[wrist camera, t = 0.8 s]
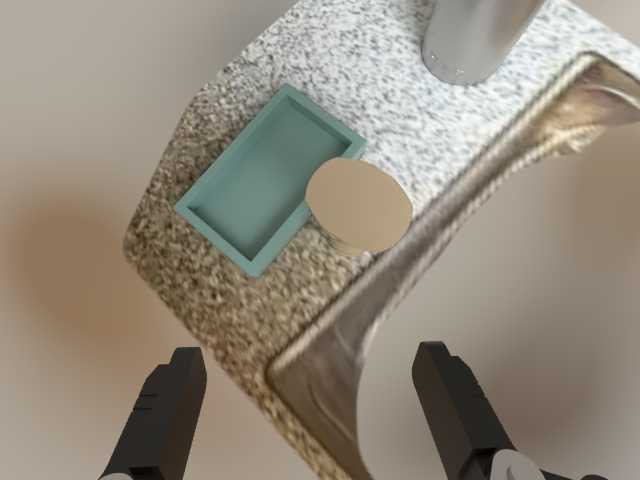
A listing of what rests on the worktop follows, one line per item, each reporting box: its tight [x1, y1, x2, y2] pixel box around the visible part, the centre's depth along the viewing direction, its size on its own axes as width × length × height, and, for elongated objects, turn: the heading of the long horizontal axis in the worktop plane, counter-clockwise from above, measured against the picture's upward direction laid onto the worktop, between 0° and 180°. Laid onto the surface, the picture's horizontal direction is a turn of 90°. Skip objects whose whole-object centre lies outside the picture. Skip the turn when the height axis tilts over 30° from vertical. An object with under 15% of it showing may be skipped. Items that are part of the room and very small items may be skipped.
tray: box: [173, 83, 367, 278], centre depth 33 cm, size 18×11×3 cm, turn 140°
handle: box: [305, 157, 413, 257], centre depth 25 cm, size 5×6×15 cm
